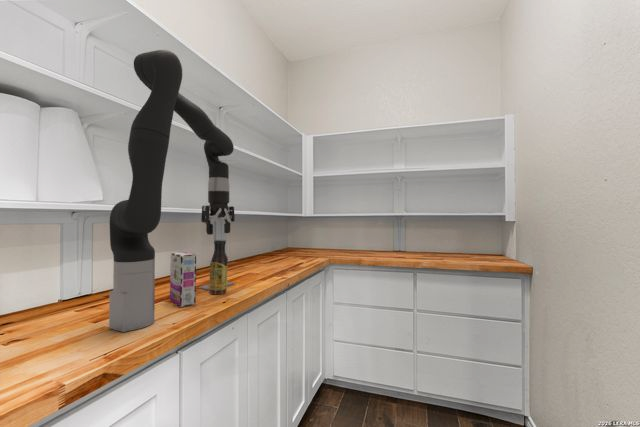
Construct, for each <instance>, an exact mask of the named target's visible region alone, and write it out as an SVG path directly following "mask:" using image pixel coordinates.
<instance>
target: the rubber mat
mask: <svg viewBox="0 0 640 427" xmlns="http://www.w3.org/2000/svg"><path fill="white" fill-rule="evenodd" d="M209 285H210V283H209V284H208V283H207V284H205V285H202V286H198V287H197V290H205V291H209V292H210V289H209ZM234 285H235V282H229V281H227V287H231V286H234Z"/></svg>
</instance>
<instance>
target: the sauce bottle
mask: <svg viewBox="0 0 640 427" xmlns="http://www.w3.org/2000/svg"><path fill="white" fill-rule="evenodd" d="M213 244H214V250H213V254H212V257H211V259H210V265H209V267H210V268H209V284H210V285H209V289H210V291H209V293H210V294H211V295H222V294H225V293H226V292H227V290H228V289H227V288H228V286H227V282H228V274H229V273H228V271H229V267H228V266H229V265H228V264H229V263H228V256H227V253H226V244H227V241H226V239H215V240H214V241H213Z"/></svg>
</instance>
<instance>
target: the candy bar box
mask: <svg viewBox="0 0 640 427" xmlns="http://www.w3.org/2000/svg"><path fill="white" fill-rule="evenodd" d="M169 277H170V279H169V281H170V283H169V284H170V288H169V300H170V302H171V303H173V304H174V305H177V306H178V307H179V308H185V307H190V306H191V307H192V306H195V305H197V304H196V297H197V296H196V291H197V288H196V287H197V281H196V278H197V254H194V253H191V252H185V251H178V252H170V276H169Z"/></svg>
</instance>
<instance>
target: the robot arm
mask: <svg viewBox="0 0 640 427" xmlns="http://www.w3.org/2000/svg"><path fill="white" fill-rule="evenodd" d="M181 63H182V62H181V61H180V59H179V57H178V55H176V54H175V53H174V52H173V51H171V50H167V49H157V50H151V51H146V52H143V53H139V54H138V55H136V56H135V58H134V59H133V69H134V72H135V75H136V76H137V78H138V79H139V81H141V82H142V84H143V85H144V86H146V87H147V88H148V90H150V94H149V96H148V99H147V100H146V101H145V103H144V104H143V106H142V107H141V109H140V110H139V111H138V113H137V114H136V116H135V117H134V119H133V121H132V122H131V127H130V131H129V132H130V134H129V138H128V143H127V153H128V157H129V158H128V159H129V163H130V167H131V173H132V181H131V188H130V191H129V195H128V199H126V200H125V199H124V200H121V201H119V202H117V203H116V204H114V206H113V207H112V208H111V212H110V215H109V244H110V249H111V252H112V254H113V255H112V256H113V282H112V283H113V284H112V285H113V286H112V288H113V289H112V290H110V291H109V292H108V294H109V296H108V297H109V301H108V302H109V303H108V304H109V305H108V306H109V307H108V309H109V311H108V312H109V314H108V315H109V317H108V318H109V319H108V320H109V322H108V328H109V329H111V330H115V331H119V332H121V333H126V332H128V331H133V330H134V331H135V330H140V329H143V328H146V327H148V326H150V325H153V324H154V323H155V315H156V314H155V311H156V309H155V299H156V298H155V297H156V295H155V294H156V292H155V290H156V289H155V286H156V284H155V282H156V281H155V278H156V277H155V274H156V272H155V271H156V270H155V268H156V264H155V263H156V262H155V260H156V258H155V257H156V250H155V248H154V247H153V246H152V245H151V242H150V241H149V234H150V233H152V232H153V231H155V229H156V228H157V227H158V226H159V224H160V221H161V217H162V216H161V215H162V195H163V194H162V193H163V191H162V190H163V182H164V175H165V169H166V168H165V167H166V163H167V162H166V161H167V155H168V149H169V144H170V138H171V137H170V136H171V128H172V123H173V119H174V118H173V116H174V113H176V114H177V115H178V116H179V117H180V118H181V119H182V120H183V121H184V122H185V123H186V124H187V126H188V127H189V128H190V129H191V130H192V131H193V133H194V134H195V135H196V136H197V137H198V138H199V139H200V140H202V141H204V144H203V150H204V155H205V159H206V162H207V166H208V183H207V191H208V192H207V195H208V196H207V202H208V203H209V205H202V206H201V219H200V220H201V222H202V223H203V224H205V225H206V228H205V229H206V230H205V231H206V235H213V234H214V224H213V223H214V222H215V220H217V219H218V218H220V219H221V220H223V222H224V225H223V226H224V227H223V231H224V232H223V233H225V234H230V233H231V223H233V222H235V218H236V217H235V216H236V215H235V207H234V206H232V205H231V206H230V205H229V204H230V180H229V179H230V178H229V173H230V172H229V165H228V163H226V162H223V161H220V158H219V157H226V156H230V155H231V154H233V152H234V147H235V146H234V143H233V141H232V139H231V138H230V136H228V134H226V133H225V132H224V131H223V130H221V128H219V127H217V126H216V125H215V124H214V122H212V120H211V119H210V117H209V116H208V115H207V113H206V111H205V110H203V109H202V108H201V107H200V106H198V105H197V104H196V103H194V102H192V101H191V100H190V99H188V98H187V97H185V96H184V95H183V94H181V93H180V88H181V85H182V80H183V66H182V64H181Z"/></svg>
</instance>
